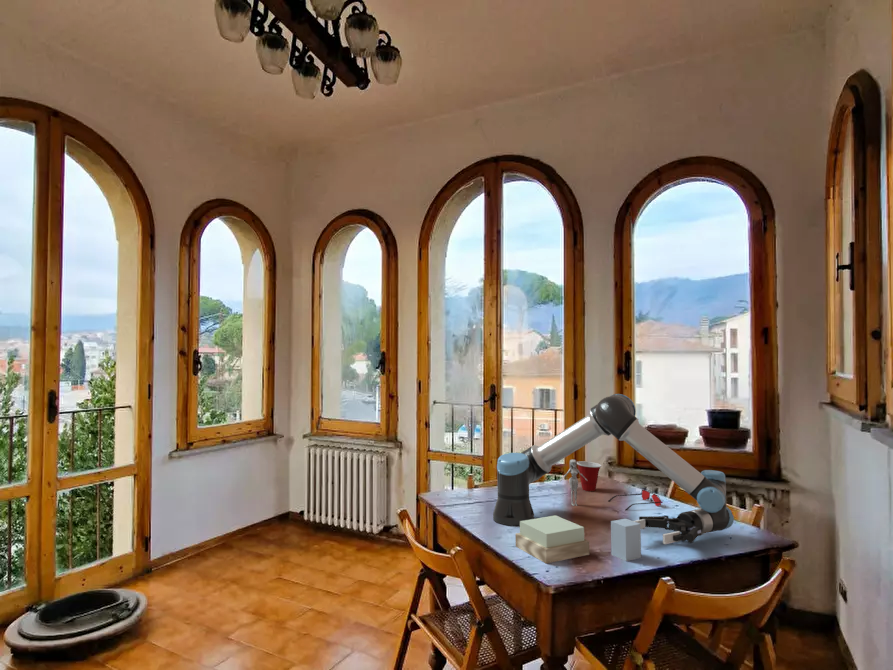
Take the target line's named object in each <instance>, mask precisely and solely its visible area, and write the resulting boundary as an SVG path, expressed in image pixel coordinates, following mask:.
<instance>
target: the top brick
mask: <svg viewBox="0 0 893 670" xmlns="http://www.w3.org/2000/svg"><path fill="white" fill-rule="evenodd" d="M519 533H520V534H521V535H523V536H525V537H527V538H528V539H530V540H532V541H534V542H536V543H538V544H540V545H542V546H544V547H546V548H549V547H555V546H560V545H565V544H570V543H575V542H580V541H584V539H585V527H584V526H582V525H579V524H578V523H574V522H573V521H570V520H567V519H565V518H562V517H560V516H558V515H549V516H543V517H539V518H534V519H530V520H524V521H520V525H519Z"/></svg>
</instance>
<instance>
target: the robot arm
mask: <svg viewBox="0 0 893 670" xmlns="http://www.w3.org/2000/svg"><path fill="white" fill-rule="evenodd" d="M636 411H637V409H636V406H635V403H634V402H633V400H632V399H631V398H630V397H629V396H627V395H625V394H621V393H614V394H611V395H609V396H606V397H604V398H601V400H599V402H598V403H597V404H596V405H594V406H592V407H590V409H589V413H588V414H587V415H586V416H585V417H583V418H581V419H579V420H578V421H577V422H574V424H572V425H570V426H569V427H567V428H566V429H564V430H562V431H560V432H559V433H558V434H556V435H555V436H553V437H551V438H550V439H548V440H546V441H545V442H544V443H542V444H540V445H536V444H534V445H531V446H530V447H528V448H527V449H525V450H523V451H522V452H509V453H503V454H502V455H500V456H499V457H498V458H497V462H496V463H497V464H496V473H497V476H496V477H497V478H496V479H497V480H496V481H497V485H496V486H497V499H496V503H495V506H494V510H493V512H492V519H493V521H494V522H496V523H497V524H501V525H505V526H520V521H524V520H530V519H535V513H534V509H533V505H532V504H531V500H530V484H532V483H533V482H536V481H538V480H539V479H540V478H542V477H543V476H545V475H547V474H548V473H549V472H551V470H552V466H553V465H555V464H557V463H559V462H560V461H562V460H563V459H565V458H566V457H568V456H570V455H572V454H573V453H575V452H576V451H578V450H579V449H580V450H581V448H583V447H585V446H586V445H587V444H590V443H591V442H593V441H594V440H596V439H599V437H601V436H613V437H615V438H616V439H617V440H618V441H622V442H623V441H624V442H625V443H626V444H628V445H629V446H630V447H631V448H632V449H634V451H636V452H637V453H639V454H640V455H641V456H642V457H644V459H646V460H647V461H648V462H650V463H651V464H652V465H653V466H654V467H656V468H657V470H659V471H660V472H662V473H663V475H666V476H667V478H668V479H670V480H671V481H673V482H674V483H675V484H676V485H677V486H679V488H681V489H682V490H683V491H685V493H687V494H688V495H689V496H690V497H692V498H693V499H694V500H695V501H696V502H697V504H698V506H699V507H700V508H698V509H692V510H687V511H683V512H682V511H681V512H680V513H679V514H678V515H677V517H672V518H671V517H670V518H669V516H668V515H662V516H659V515H657V516H645V515H644V516H638V519H637V520H633V521H634V522H637V523H639V524H641V530H645V529H646V528H658V529H664V530H666V531H672V532H669V533H663V534H662V544H663V545H668V544H672V543H678V542H686V541H687V543H690V544H692V543H694V541H695V540H697V538H698V537H701V536H702V535H703V534H708V533H712V532H718V531H719V532H720V531H723V530H725V529H726V530H727V529H729V528H730V527H732V526H733V523H734V521H735V517H734V515H733V512H732V510H731V509H730V508H729V507H728V506H727V481H726V474H725V473H724V472H723V471H720V470H712V469H704V470H702V471H701V472H700V471H699V470H697V469H696V468H695V467H694V466H692V464H690V463H689V462H688V461H686V460H685V459H683V458H682V457H681V456H680V455H679V454H678V453H676V451H674V450H672V449H671V448H670V447H669V446H667V445H666V444H665V443H664V442H662V441H661V440H660V439H659V438H658V437H656V436H655V435H654V434H652V433H651V431H649V430H647V429H646V428H645V427H644V426H643V425H641V424H640V421H639V418H638V417H636V414H637V413H636Z"/></svg>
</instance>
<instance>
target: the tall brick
mask: <svg viewBox="0 0 893 670" xmlns="http://www.w3.org/2000/svg"><path fill="white" fill-rule="evenodd" d="M634 521H635V520H631V519H628V518H621V519H617V520H615V519H614V520H610V543H611V544H610V545H611V546H610V547H611V554H610V555H612V556H613V557H615V558H618V559H620V560H623V561H624V562H629V561H634V560H639V559H641V558H642V537H641V536H642V535H641V534H642V532H641V531H642V529H641V524H639V523H637V522H634Z"/></svg>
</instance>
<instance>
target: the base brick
mask: <svg viewBox="0 0 893 670" xmlns="http://www.w3.org/2000/svg"><path fill="white" fill-rule="evenodd" d="M515 547H516V548H517V549H519V550H521V551H523V552H525V553H526V554H529V555H530V556H532V557H533V558H536V559H537V560H539V561H541V562H543V563H545V564H550V563H551V564H552V563H556V562H560V561H564V560H565V561H566V560H570V559H574V558H578V557H579V558H580V557H584V556H589V555H590V541H589V540H588V539H585V538H584V541H580V542H575V543H570V544H565V545H560V546H555V547H549V548H546V547H544V546H542V545H540V544H538V543H536V542H534V541H532V540H530V539H528V538H527V537H525V536H523V535H521V534H520V532H518V533H515Z"/></svg>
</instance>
